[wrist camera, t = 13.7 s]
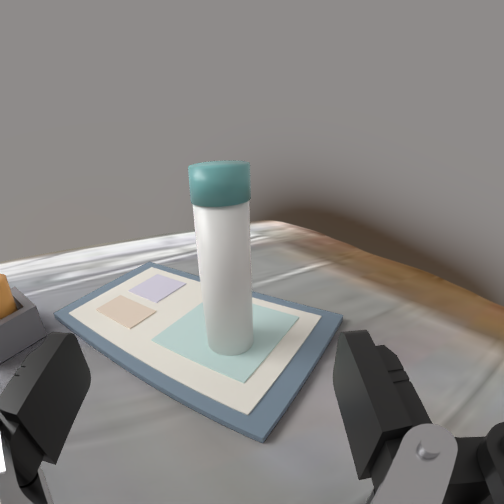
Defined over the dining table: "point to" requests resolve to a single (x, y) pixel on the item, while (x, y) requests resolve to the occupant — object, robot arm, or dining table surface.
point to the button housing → (20, 327)
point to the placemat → (203, 346)
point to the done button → (6, 298)
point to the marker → (224, 252)
